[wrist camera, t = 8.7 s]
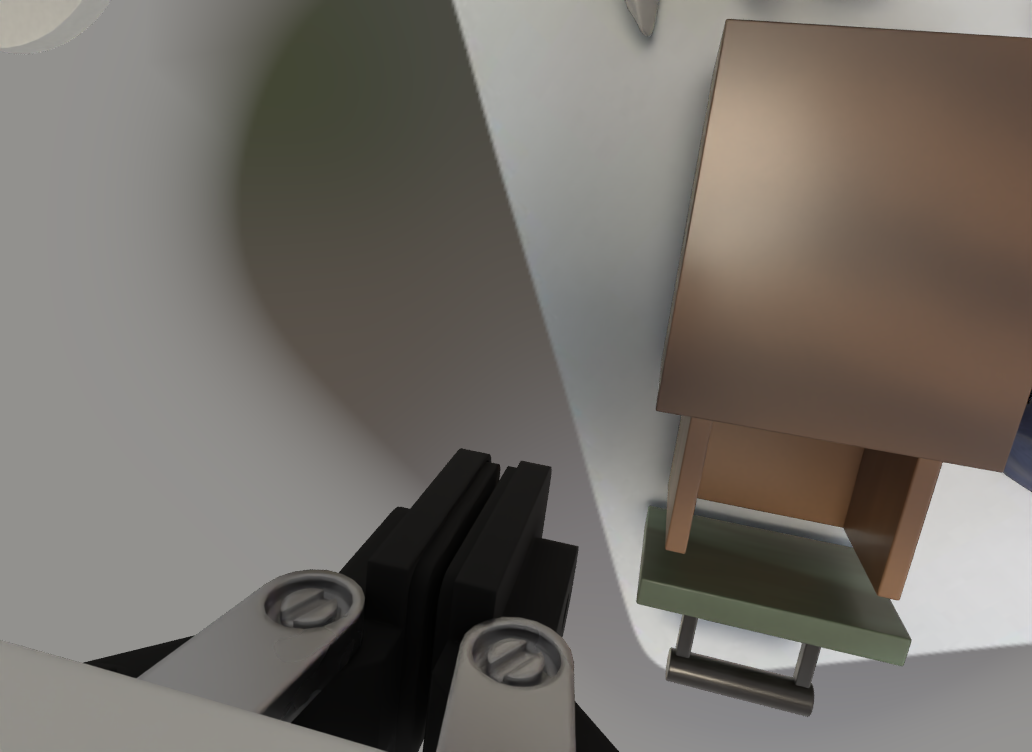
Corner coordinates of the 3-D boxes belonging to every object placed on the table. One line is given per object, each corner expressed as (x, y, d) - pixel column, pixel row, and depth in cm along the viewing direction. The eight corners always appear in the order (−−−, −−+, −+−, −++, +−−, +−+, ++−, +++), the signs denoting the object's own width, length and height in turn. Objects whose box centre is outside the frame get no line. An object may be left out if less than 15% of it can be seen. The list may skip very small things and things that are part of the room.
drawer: (832, 660, 32) (869, 772, 26) (628, 611, 34) (616, 705, 28) (927, 331, 28) (1000, 369, 21) (687, 297, 30) (688, 322, 23)
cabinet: (915, 399, 29) (1003, 473, 21) (661, 358, 32) (655, 411, 24) (1004, 94, 26) (1150, 44, 18) (713, 72, 28) (726, 17, 20)
